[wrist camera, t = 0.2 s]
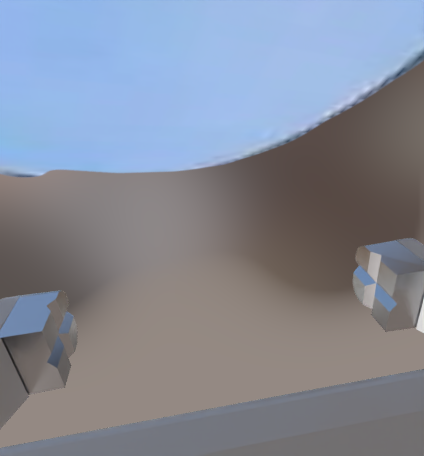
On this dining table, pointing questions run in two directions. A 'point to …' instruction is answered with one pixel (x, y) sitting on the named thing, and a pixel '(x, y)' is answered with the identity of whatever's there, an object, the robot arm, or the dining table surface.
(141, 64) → the dining table surface
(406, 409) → the robot arm
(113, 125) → the dining table surface
